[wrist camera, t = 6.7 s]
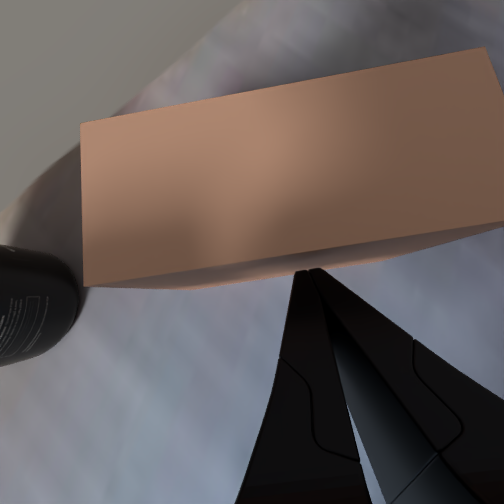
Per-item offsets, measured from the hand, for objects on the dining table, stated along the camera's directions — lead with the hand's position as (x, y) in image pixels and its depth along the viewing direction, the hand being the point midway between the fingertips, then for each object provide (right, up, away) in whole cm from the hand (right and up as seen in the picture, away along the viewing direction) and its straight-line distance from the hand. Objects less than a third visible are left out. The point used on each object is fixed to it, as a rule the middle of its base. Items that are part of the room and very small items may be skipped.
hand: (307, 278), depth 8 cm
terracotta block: (0, +2, +7) cm, 8 cm away
